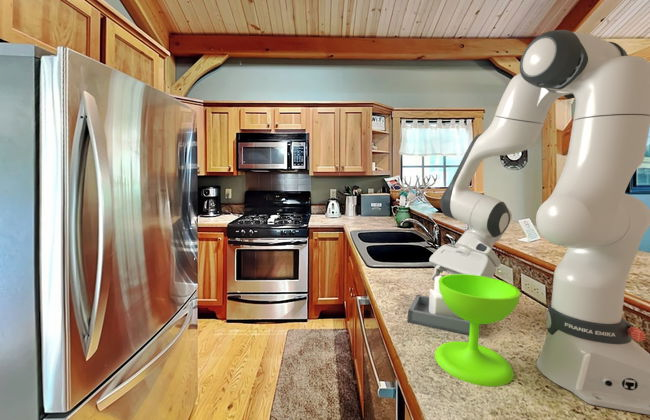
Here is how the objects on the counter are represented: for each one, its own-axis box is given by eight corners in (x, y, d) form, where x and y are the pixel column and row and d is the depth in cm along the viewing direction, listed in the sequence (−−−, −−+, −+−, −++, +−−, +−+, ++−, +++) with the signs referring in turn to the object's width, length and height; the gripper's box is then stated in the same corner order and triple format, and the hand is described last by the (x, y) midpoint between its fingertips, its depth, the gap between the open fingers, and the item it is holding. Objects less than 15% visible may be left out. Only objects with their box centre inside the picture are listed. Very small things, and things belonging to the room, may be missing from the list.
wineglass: (481, 341, 78) (486, 273, 76) (532, 382, 62) (540, 297, 60) (422, 345, 76) (425, 275, 74) (460, 390, 60) (465, 301, 58)
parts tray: (477, 316, 92) (478, 305, 92) (477, 337, 80) (478, 324, 80) (416, 304, 100) (416, 294, 100) (407, 322, 88) (408, 310, 88)
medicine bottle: (452, 312, 93) (454, 274, 92) (460, 323, 86) (462, 281, 85) (428, 310, 94) (430, 272, 93) (434, 321, 87) (436, 280, 86)
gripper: (440, 236, 100) (415, 268, 98) (495, 249, 81) (465, 289, 79) (450, 248, 102) (425, 280, 100) (506, 264, 83) (477, 304, 81)
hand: (443, 284), depth 89 cm, fingers open, 7 cm apart
